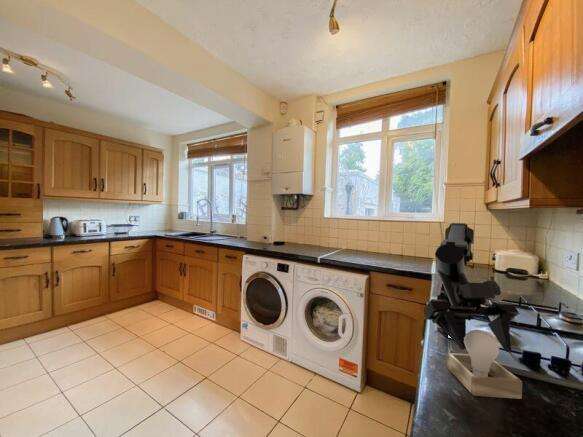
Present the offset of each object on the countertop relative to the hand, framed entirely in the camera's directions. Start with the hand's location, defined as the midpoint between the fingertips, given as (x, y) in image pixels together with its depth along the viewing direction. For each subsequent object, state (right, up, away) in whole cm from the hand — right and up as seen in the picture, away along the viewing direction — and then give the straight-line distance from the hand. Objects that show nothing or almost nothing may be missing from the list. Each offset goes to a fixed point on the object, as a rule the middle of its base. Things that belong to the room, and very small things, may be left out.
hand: (486, 350), depth 52 cm
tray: (0, -8, +1) cm, 8 cm away
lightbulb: (0, -8, +2) cm, 8 cm away
